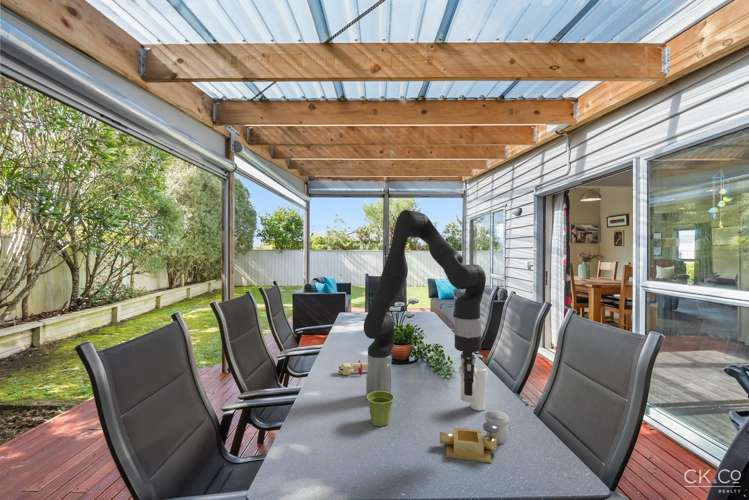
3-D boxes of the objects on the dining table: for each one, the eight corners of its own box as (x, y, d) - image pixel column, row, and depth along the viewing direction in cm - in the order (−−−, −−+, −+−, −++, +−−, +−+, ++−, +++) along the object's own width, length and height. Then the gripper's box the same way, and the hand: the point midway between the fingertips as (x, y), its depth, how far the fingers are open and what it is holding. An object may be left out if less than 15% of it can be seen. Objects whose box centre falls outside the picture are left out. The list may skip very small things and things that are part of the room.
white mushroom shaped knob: (459, 402, 97) (459, 370, 97) (458, 394, 102) (458, 364, 102) (477, 403, 96) (477, 372, 96) (476, 396, 101) (476, 366, 101)
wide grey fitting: (486, 443, 102) (486, 420, 102) (483, 431, 109) (483, 409, 109) (510, 446, 101) (511, 422, 101) (506, 433, 108) (506, 411, 108)
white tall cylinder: (488, 413, 121) (488, 371, 121) (468, 411, 123) (468, 369, 123) (486, 404, 128) (486, 364, 128) (467, 403, 129) (467, 363, 129)
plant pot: (397, 418, 118) (397, 392, 118) (389, 431, 109) (389, 404, 109) (372, 413, 121) (372, 389, 121) (362, 426, 112) (362, 400, 112)
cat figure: (387, 370, 168) (336, 369, 163) (388, 352, 168) (338, 351, 163) (391, 378, 158) (338, 377, 154) (393, 359, 158) (340, 358, 154)
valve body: (439, 456, 96) (439, 429, 96) (440, 437, 106) (440, 412, 106) (501, 464, 92) (501, 436, 92) (496, 443, 102) (496, 418, 102)
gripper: (454, 327, 107) (454, 381, 107) (454, 338, 93) (455, 401, 93) (479, 328, 105) (479, 383, 105) (483, 339, 91) (483, 403, 91)
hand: (467, 391), depth 99 cm, fingers closed on white mushroom shaped knob, 4 cm apart
